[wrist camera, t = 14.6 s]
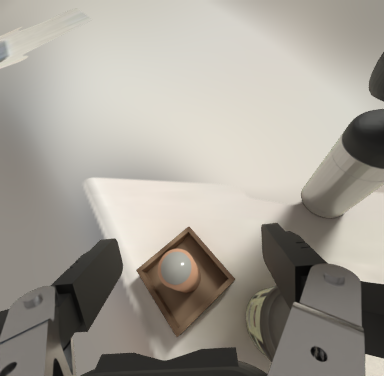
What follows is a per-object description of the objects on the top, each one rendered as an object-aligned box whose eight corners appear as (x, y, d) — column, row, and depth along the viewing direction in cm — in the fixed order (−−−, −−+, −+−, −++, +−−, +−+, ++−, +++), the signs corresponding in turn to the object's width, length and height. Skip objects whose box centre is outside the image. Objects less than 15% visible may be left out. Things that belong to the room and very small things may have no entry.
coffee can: (322, 353, 30) (391, 386, 18) (258, 368, 30) (284, 411, 18) (292, 282, 35) (329, 271, 23) (237, 294, 35) (247, 289, 24)
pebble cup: (188, 255, 39) (179, 240, 31) (207, 278, 36) (202, 269, 28) (166, 274, 38) (150, 265, 29) (183, 300, 35) (171, 297, 26)
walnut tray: (191, 231, 43) (189, 226, 40) (233, 281, 37) (235, 279, 34) (142, 272, 39) (136, 270, 36) (180, 334, 33) (176, 337, 30)
